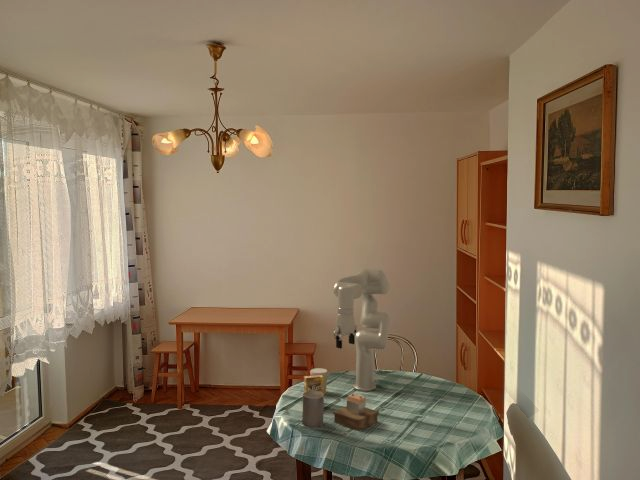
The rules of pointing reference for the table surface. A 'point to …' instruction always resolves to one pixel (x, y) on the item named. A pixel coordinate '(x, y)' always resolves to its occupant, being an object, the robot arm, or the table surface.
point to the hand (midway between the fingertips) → (345, 345)
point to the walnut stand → (355, 418)
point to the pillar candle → (313, 409)
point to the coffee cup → (324, 373)
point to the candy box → (313, 383)
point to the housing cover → (356, 398)
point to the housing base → (356, 407)
